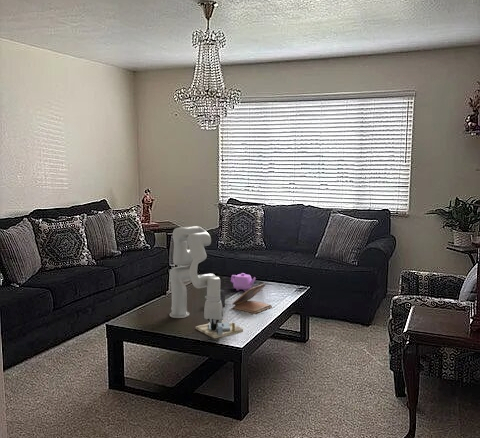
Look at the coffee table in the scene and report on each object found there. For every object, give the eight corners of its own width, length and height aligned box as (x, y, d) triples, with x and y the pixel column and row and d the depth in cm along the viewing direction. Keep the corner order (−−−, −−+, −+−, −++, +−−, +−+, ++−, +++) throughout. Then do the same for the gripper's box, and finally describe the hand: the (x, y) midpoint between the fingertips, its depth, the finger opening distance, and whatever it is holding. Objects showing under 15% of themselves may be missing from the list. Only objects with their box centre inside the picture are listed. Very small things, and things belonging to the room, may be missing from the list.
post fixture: (195, 328, 303) (195, 317, 302) (223, 322, 314) (223, 311, 313) (214, 338, 287) (214, 326, 286) (243, 331, 298) (243, 319, 297)
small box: (222, 303, 354) (222, 288, 353) (225, 306, 348) (225, 291, 347) (207, 305, 351) (207, 290, 349) (210, 307, 345) (210, 292, 343)
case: (249, 301, 359) (249, 279, 357) (273, 307, 346) (273, 284, 344) (230, 308, 344) (230, 285, 342) (255, 314, 331) (255, 290, 329)
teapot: (228, 290, 389) (227, 273, 388) (234, 286, 401) (234, 270, 399) (252, 292, 382) (252, 276, 380) (258, 288, 393) (258, 272, 392)
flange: (208, 324, 306) (208, 316, 305) (228, 323, 307) (228, 316, 306) (209, 335, 287) (209, 327, 286) (231, 334, 288) (231, 326, 287)
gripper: (198, 299, 288) (198, 330, 291) (223, 301, 283) (223, 333, 286) (204, 295, 295) (204, 326, 298) (228, 298, 290) (228, 329, 293)
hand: (213, 329), depth 292 cm, fingers closed
